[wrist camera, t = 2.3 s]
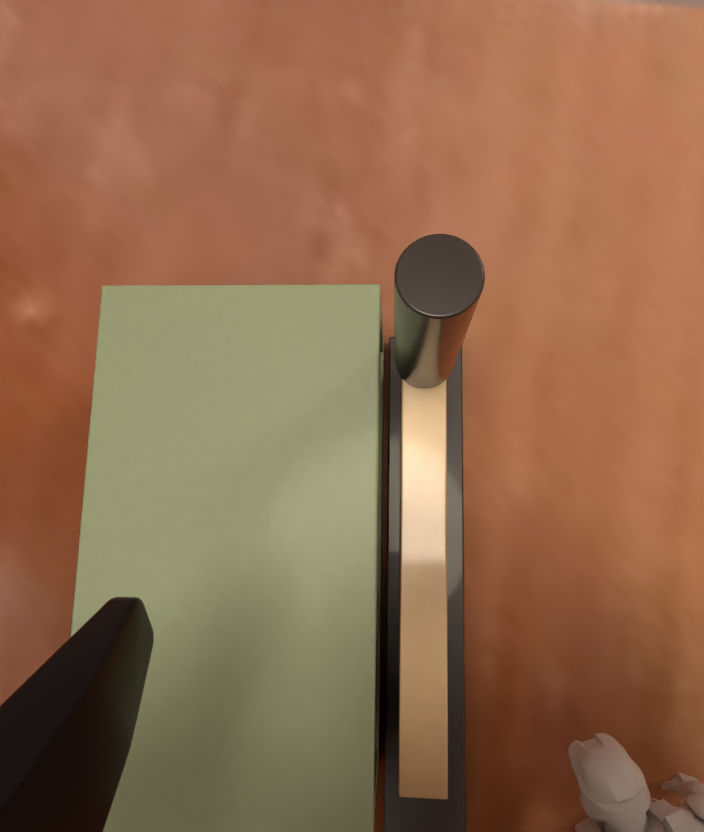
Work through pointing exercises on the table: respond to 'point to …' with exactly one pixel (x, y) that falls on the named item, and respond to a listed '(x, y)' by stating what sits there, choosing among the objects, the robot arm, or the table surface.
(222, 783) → the cabinet
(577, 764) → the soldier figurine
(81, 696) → the robot arm
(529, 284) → the table surface
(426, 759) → the door
